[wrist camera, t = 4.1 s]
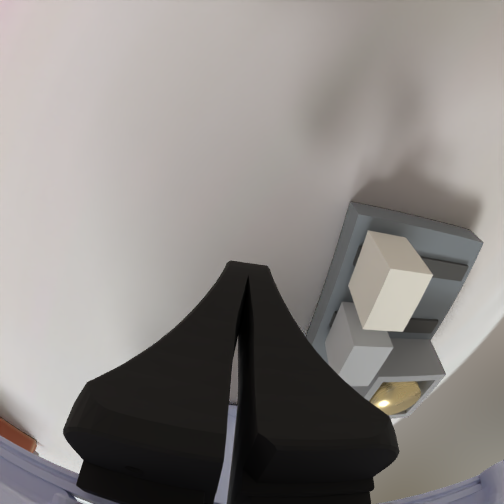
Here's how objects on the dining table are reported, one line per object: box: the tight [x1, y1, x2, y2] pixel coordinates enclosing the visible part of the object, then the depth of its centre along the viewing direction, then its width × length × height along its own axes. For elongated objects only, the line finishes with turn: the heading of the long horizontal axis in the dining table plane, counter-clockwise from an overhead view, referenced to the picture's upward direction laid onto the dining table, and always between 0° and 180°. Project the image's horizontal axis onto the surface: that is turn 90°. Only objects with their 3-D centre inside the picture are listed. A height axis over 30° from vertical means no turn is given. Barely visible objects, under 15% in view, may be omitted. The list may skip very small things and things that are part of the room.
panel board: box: [306, 202, 483, 419], centre depth 15 cm, size 8×12×4 cm, turn 172°
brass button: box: [369, 381, 421, 415], centre depth 17 cm, size 3×3×3 cm
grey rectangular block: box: [325, 302, 393, 386], centre depth 14 cm, size 2×3×3 cm, turn 172°
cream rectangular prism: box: [348, 230, 433, 332], centre depth 12 cm, size 2×3×3 cm, turn 172°
